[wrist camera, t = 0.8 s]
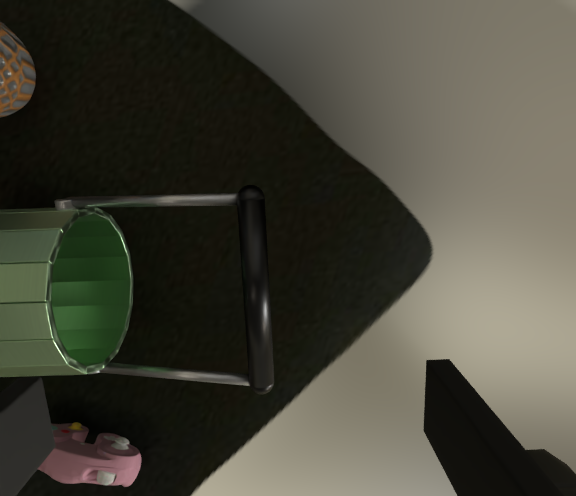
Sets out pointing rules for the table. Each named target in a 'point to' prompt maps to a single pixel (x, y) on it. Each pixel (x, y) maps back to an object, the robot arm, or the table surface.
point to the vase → (14, 73)
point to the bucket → (109, 288)
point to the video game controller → (91, 457)
